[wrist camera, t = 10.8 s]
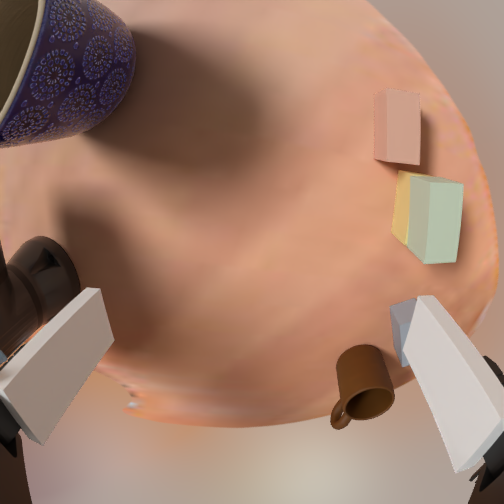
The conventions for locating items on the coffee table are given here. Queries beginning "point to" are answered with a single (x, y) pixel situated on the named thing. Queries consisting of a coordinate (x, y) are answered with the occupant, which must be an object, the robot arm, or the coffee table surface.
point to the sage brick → (434, 218)
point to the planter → (60, 68)
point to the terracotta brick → (397, 126)
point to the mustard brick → (402, 205)
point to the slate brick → (401, 326)
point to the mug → (361, 386)
